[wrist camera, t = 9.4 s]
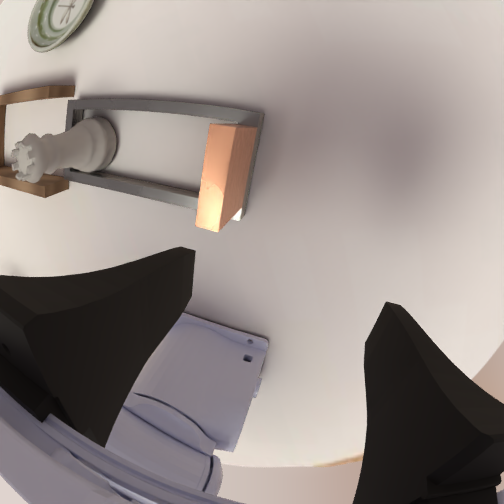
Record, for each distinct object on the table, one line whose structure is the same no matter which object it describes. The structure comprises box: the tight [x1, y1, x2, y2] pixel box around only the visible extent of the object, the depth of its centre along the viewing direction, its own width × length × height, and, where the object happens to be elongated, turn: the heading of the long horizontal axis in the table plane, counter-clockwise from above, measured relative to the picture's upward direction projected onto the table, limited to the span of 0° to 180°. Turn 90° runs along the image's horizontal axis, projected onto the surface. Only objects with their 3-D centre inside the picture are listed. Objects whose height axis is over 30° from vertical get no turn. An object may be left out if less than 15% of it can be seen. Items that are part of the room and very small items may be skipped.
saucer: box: [28, 0, 94, 52], centre depth 14 cm, size 10×10×2 cm
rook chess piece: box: [11, 117, 117, 183], centre depth 16 cm, size 4×4×8 cm
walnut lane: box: [0, 86, 75, 198], centre depth 20 cm, size 14×9×3 cm, turn 79°
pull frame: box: [64, 99, 264, 232], centre depth 16 cm, size 16×7×6 cm, turn 79°
